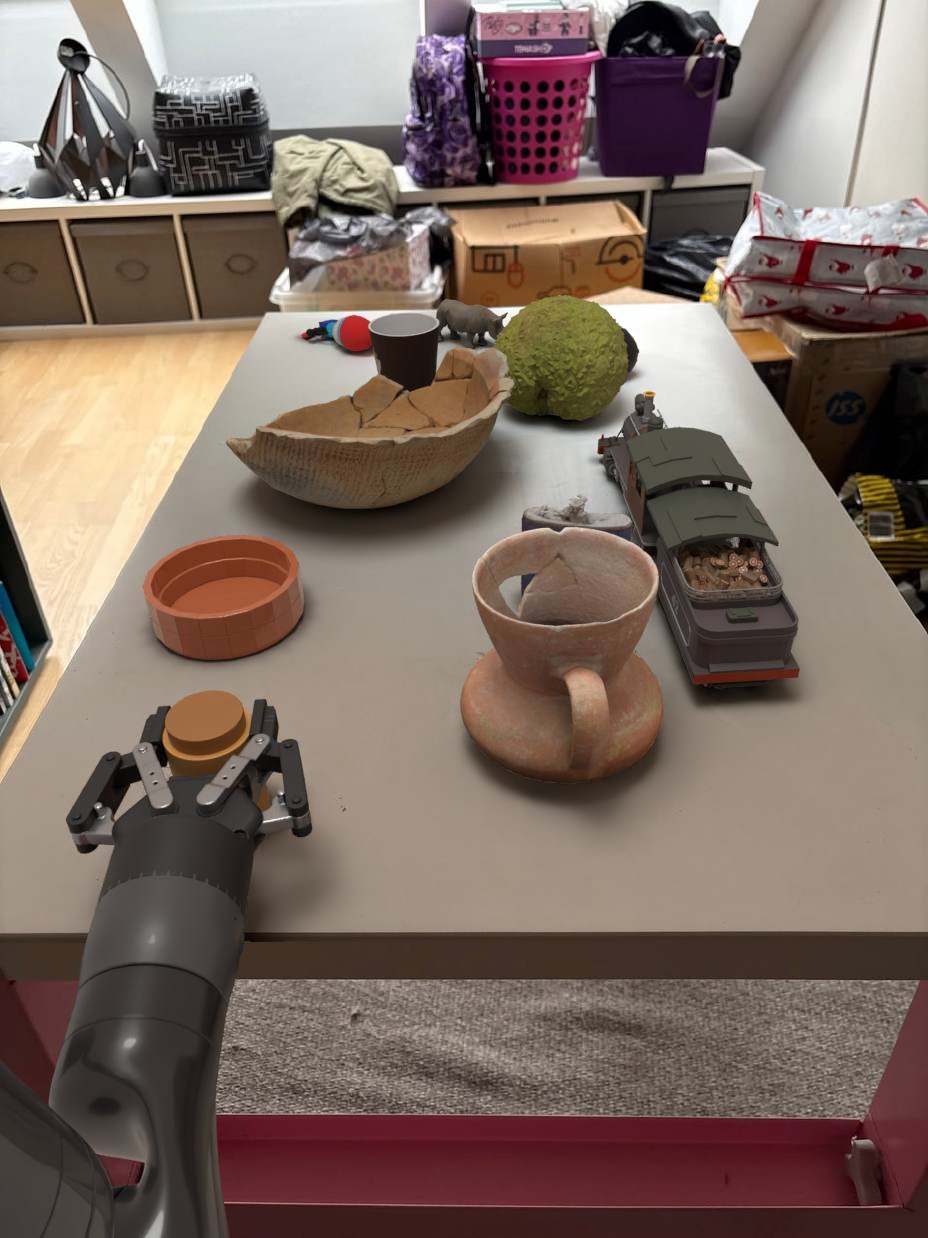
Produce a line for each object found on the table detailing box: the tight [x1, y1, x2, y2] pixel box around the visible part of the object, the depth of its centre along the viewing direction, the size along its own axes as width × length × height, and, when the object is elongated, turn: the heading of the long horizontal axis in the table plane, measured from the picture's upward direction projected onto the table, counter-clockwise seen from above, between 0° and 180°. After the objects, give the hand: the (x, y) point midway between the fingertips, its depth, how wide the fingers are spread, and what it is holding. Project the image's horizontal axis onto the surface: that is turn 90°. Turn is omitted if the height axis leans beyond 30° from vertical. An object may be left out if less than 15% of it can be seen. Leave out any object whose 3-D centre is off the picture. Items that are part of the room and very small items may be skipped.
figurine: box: [622, 327, 640, 375], centre depth 130 cm, size 8×7×18 cm
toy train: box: [597, 390, 801, 690], centre depth 88 cm, size 45×9×11 cm, turn 3°
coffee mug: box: [368, 312, 439, 392], centre depth 120 cm, size 12×9×10 cm
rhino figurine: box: [435, 298, 509, 350], centre depth 136 cm, size 4×14×6 cm, turn 54°
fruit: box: [494, 294, 629, 422], centre depth 114 cm, size 16×14×15 cm
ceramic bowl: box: [225, 346, 515, 510], centre depth 100 cm, size 30×27×15 cm
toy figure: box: [300, 314, 372, 352], centre depth 139 cm, size 8×5×15 cm
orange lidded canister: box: [162, 689, 271, 811], centre depth 63 cm, size 6×6×9 cm
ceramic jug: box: [459, 527, 665, 785], centre depth 66 cm, size 18×14×14 cm
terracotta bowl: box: [142, 534, 305, 661], centre depth 83 cm, size 13×13×4 cm
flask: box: [520, 494, 634, 598], centre depth 81 cm, size 9×3×11 cm, turn 78°
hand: (215, 712), depth 63 cm, fingers closed on orange lidded canister, 5 cm apart
